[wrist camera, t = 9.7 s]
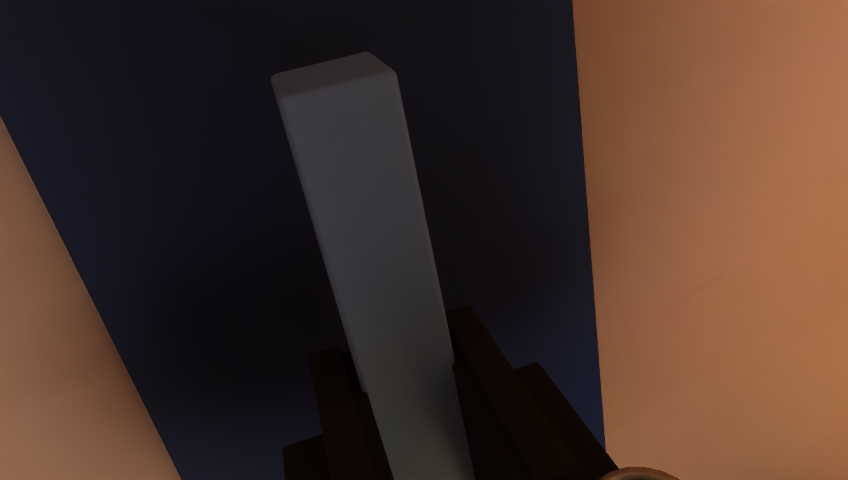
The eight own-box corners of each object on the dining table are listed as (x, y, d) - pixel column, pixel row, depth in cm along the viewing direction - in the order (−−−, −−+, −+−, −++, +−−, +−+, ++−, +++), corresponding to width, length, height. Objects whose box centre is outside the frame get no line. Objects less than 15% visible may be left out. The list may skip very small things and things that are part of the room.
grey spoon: (154, 101, 8) (138, 133, 7) (472, 24, 9) (518, 39, 8) (385, 704, 15) (401, 783, 13) (560, 631, 15) (593, 699, 14)
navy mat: (-56, -17, 10) (-67, -16, 9) (552, -141, 11) (562, -143, 11) (281, 668, 18) (281, 682, 17) (606, 540, 19) (614, 551, 19)
